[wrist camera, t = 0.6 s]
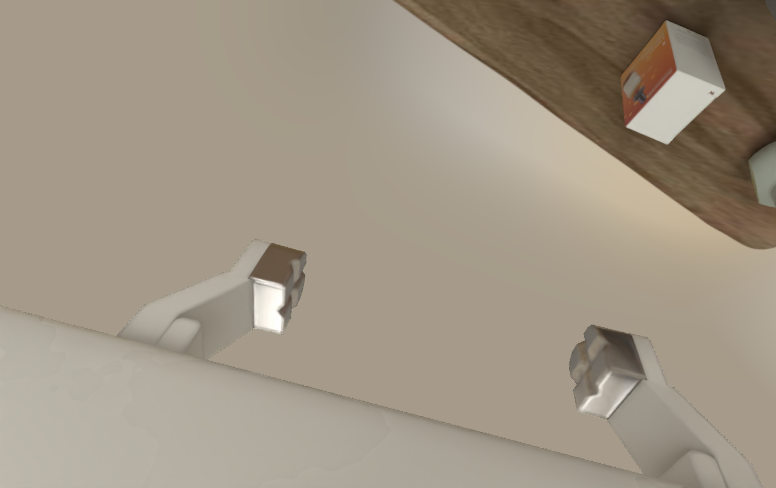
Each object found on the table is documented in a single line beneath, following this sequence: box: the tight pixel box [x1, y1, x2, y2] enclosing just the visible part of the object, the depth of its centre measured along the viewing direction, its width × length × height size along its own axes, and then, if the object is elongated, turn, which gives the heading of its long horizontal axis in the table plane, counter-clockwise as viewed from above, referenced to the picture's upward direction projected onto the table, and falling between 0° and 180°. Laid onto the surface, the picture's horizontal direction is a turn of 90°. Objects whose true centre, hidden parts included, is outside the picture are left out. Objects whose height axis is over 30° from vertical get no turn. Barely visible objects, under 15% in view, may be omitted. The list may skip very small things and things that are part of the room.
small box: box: [620, 20, 725, 144], centre depth 51 cm, size 8×6×10 cm
